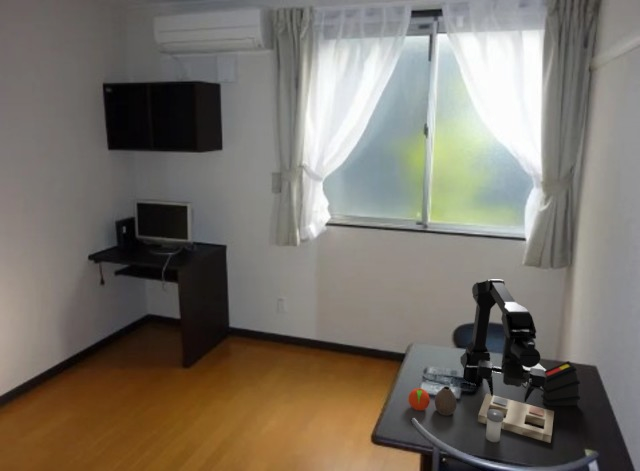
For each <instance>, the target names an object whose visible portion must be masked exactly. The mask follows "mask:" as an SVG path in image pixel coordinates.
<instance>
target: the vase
mask: <svg viewBox="0 0 640 471" xmlns="http://www.w3.org/2000/svg"><path fill="white" fill-rule="evenodd" d="M434 406H435V409H436V411H437V412H438V413H439V414H440V415H443V416H450V415H452V414H454V412H455V411H456V408H457V398H456V394H455V393H454V392H453V391H452V388H451V386H447V385H444V386H443V387H442V388H441V389H439V391H438V392H437V393H436V395H435V398H434Z"/></svg>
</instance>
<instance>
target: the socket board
mask: <svg viewBox="0 0 640 471" xmlns="http://www.w3.org/2000/svg"><path fill="white" fill-rule="evenodd" d="M489 409H496V410H499V411H501V412H502V413H503V414H504V419H503V421H502V424H501V429H502V430H505V431H508V432H512V433H515V434H518V435H520V436H521V435H522V436H525V437H529V438H532V439H535V440H538V441H543V442H545V443H549V444H551V441H552V434H553V425H554V424H553V423H554V417H555V416H554V415H555V411H554V410H550V409H547V408H543V407H538V406H534V405H531V404H527V403H525V402H520V401H516V400H512V399H509V398H506V397H501V396H497V395H495V394H493V396H491V393H490V394H489V393H485V396H484V399H483V402H482V404H481V406H480V410H479V412H478V416H477V417H478V418H477V422H478V423H482V424H485V425H487V419H488V418H487V416H486V415H487V411H488V410H489ZM526 422H527V424H525V423H526ZM528 423H530V424H528ZM531 424H533V426H532V425H531ZM534 425H537V426H541V427H543V428H540V427H537V426H534Z"/></svg>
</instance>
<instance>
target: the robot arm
mask: <svg viewBox="0 0 640 471" xmlns="http://www.w3.org/2000/svg"><path fill="white" fill-rule="evenodd" d="M471 292H472V298H473V300H474V302H475V304H476V307H475V308H476V309H475V315H474V322H473V331H472V337H471V341H470V342H469V343H468V344H467V345H466V347H465V351H464V353H463V354H462V355H461V356H460V360H459V361H460V365H461V367H462V368H463V375H462V379H465V380H466V381H468V382H471V383H475V384H476V386H477V387H476V386H475V387H476V388H481V385H482V384H483V383H484V381H486V382H487V384H488V388H489V392H490V394H491V396H493V395H494V381H493V380H494V379H493V378H494V377H493V374H499V375H502V376H503V377H502V382H503V384H504V385H506V386H513V387H517V388H520V387H522V385H523V384H522V383H525V384H526V382H527V385H526V387H525V391H524V395H523V403H526V402H527V401H528V399H529V397H530V396H531V394H532V393H533V391H534V390H535V389H536V390H537V389H541V388H540V387H541V386H542V387H545V386H546V382H547V378H546V374H545V371H544V370H542V369H536V368H531V367H534V366H536V365H537V364H540V362H541V353H540V351H538V349H537V348H536V347H535V343H534V342H533V341H531V340H532V339H533V340H534V339H535V340H536V339H537V329H536V326H535V322H534V318H533V315H532V314H531V313H530V311H529V310H528V309H527V308H526V307H525V306H523V305H520V304H519V303H517V302H516V301H515V298H514V297H513V296H512V294H511V293H510V291H509V290H508V288H507V287H506V284H505V281H504V279H501V278H500V279H497V278H494V279H493V278H489V279H487V280H485V281H480V282H479V281H477V282H475V283H474V284H473V286H472V288H471ZM495 305H497V306H498V308H499V309H500V311H501V313H502V314H501V323H502V326H503V331H504V340H503V348H502V349H503V350H502V357H501V358H502V359H501V366H495V365H493V361H491V354H490V352H489V349H488V348H487V345H486V344H487V338H488V330H489V325H490V317H491V312H492V308H493V307H494V306H495ZM527 330H528V331H527ZM523 366H524V367H528V368H531V369H530V370H525V369H524V368H523Z"/></svg>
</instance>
